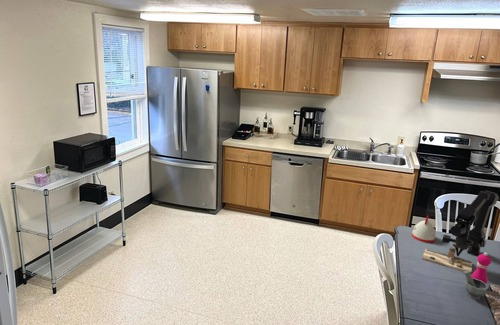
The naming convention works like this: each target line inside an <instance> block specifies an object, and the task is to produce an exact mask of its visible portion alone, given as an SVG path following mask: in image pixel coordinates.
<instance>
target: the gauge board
mask: <svg viewBox="0 0 500 325" xmlns="http://www.w3.org/2000/svg"><path fill="white" fill-rule="evenodd" d="M448 254H449V253H445V252H441V251H438V250H434V249H430V248H427V247H426V248H425V250H424V252H423V254H422V257H421V259H422V260H425V261H427V262H430V263H433V264H437V265H439V266H440V265H441V266H444V267H446V268H449V269H450V268H451V269H454V270H456V271H460V272H463V273H464V271H470V275H472V272H473V271H472V270H473V260H469V259H465V258H462V257H459V256H456V255H454V259H451V263H449V260H450V258H448Z"/></svg>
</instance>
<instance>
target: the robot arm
mask: <svg viewBox="0 0 500 325" xmlns="http://www.w3.org/2000/svg"><path fill="white" fill-rule="evenodd" d="M499 197H500V196H499V195H498V193H495V192H492V191H490V190H484V191H482V190H481V191H479V192H478V194H477V196H476V197H475V198H474V200H472V202H471V203H470V204H469V206H466V207H463V208H462V209H461V210H460V211H459V212H458V213H457V214H458V215H457V216H456V218H455V220H454V222H456V223H455V224H454V225H453V226H451V227H450V229H449V232H450V234H451V235H452V236H454V237H455V238H451V237H452V236H451V235H449V234H443V235H442V239H441V242H442V243H445V244H450V242H452V246H453V248H455V249H456V250H455V254H456V257H459V256H460V255H461V253H463V251H465V250H467V251H466V252H467V254H470V255H474V256H477V257H478V256H479V255H480V253H481V248H485V246H486V242H487V241H486V239H485V236H486V234H485V231H484V229H485V226H486V224H487V220H488V218H489V214H490V211H491V209H492V207H494V206H495V205H496V204H497V202H498V201H499ZM478 211H479V213H478ZM477 213H478V216H477ZM475 221H476V222H475ZM474 223H475V224H474ZM473 224H474V227H473V228H471V227H472V226H473Z"/></svg>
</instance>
